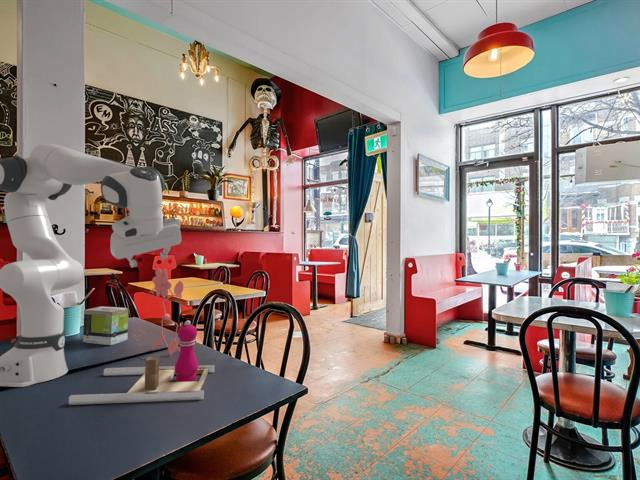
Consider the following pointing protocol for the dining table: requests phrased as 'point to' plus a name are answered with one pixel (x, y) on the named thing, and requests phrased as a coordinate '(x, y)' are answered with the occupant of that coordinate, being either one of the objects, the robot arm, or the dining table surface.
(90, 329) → the tea box
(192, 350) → the pepper mill
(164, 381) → the beige piece
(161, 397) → the runner track
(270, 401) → the dining table surface
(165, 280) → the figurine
